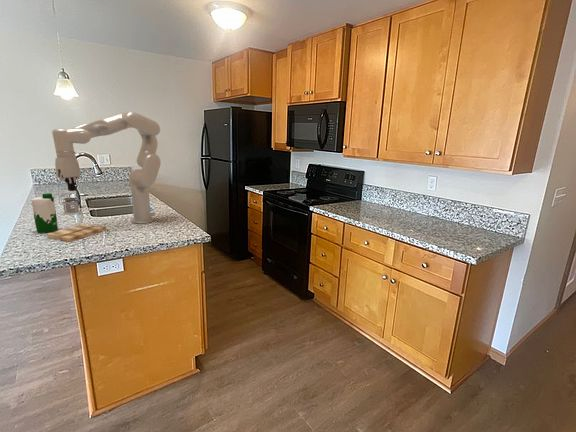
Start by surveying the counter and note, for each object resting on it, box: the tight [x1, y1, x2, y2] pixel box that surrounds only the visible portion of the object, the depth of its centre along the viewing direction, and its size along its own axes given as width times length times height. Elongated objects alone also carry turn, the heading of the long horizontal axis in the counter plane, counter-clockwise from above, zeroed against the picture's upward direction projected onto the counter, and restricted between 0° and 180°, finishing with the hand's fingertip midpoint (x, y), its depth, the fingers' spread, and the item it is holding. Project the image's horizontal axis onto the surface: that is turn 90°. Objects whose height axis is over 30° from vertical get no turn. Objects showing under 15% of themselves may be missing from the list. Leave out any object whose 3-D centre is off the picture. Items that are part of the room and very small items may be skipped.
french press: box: [58, 189, 81, 216], centre depth 205 cm, size 10×12×25 cm
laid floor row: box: [59, 225, 107, 243], centre depth 164 cm, size 22×6×2 cm, turn 165°
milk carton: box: [31, 192, 58, 234], centre depth 167 cm, size 9×9×20 cm
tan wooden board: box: [46, 223, 94, 241], centre depth 166 cm, size 20×9×2 cm, turn 165°
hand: (72, 190), depth 163 cm, fingers closed
